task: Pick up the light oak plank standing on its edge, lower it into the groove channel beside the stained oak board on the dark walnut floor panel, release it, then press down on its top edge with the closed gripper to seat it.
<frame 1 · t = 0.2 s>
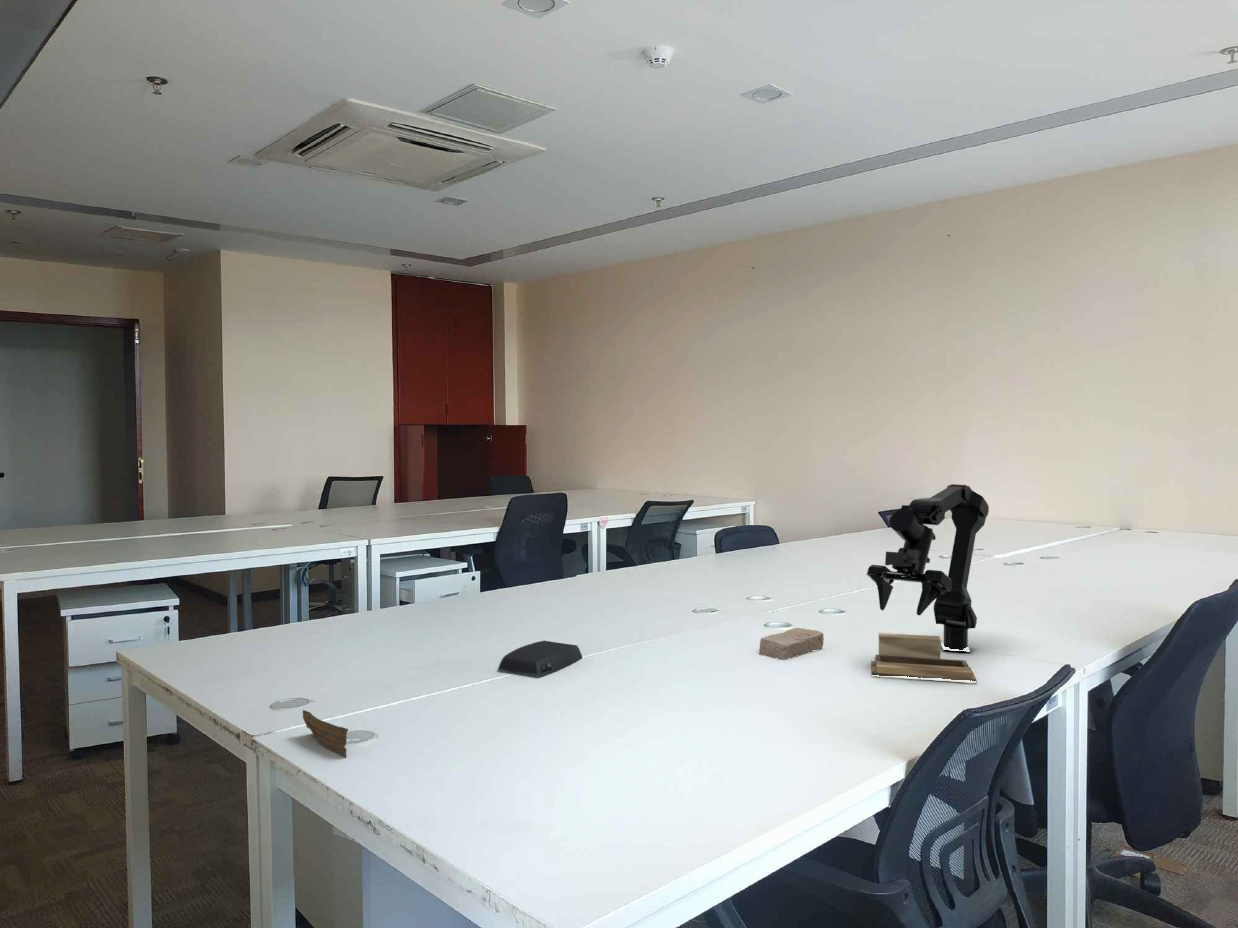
hand: (899, 612, 195), 14 cm above the table, tool tilted 30°, fingers open, 9 cm apart
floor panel: (921, 674, 196), on the table
external hard drive: (541, 667, 205), on the table
oak plank: (908, 660, 208), on the table
brick: (791, 653, 216), on the table
wood plank: (327, 747, 153), on the table
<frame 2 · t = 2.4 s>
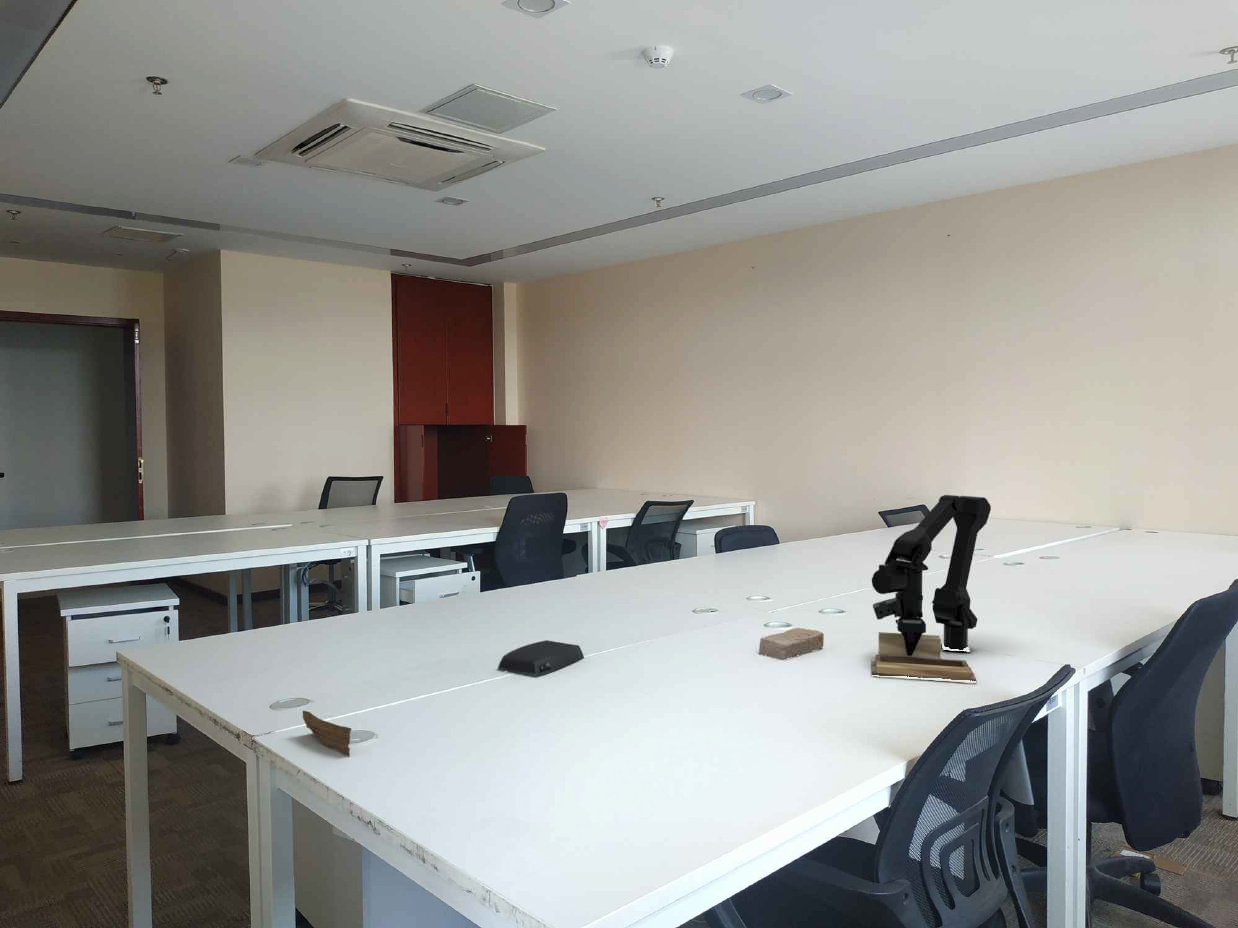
hand: (908, 653, 208), 2 cm above the table, tool pointing down, fingers closed on oak plank, 3 cm apart
oak plank: (908, 659, 208), on the table, touching gripper
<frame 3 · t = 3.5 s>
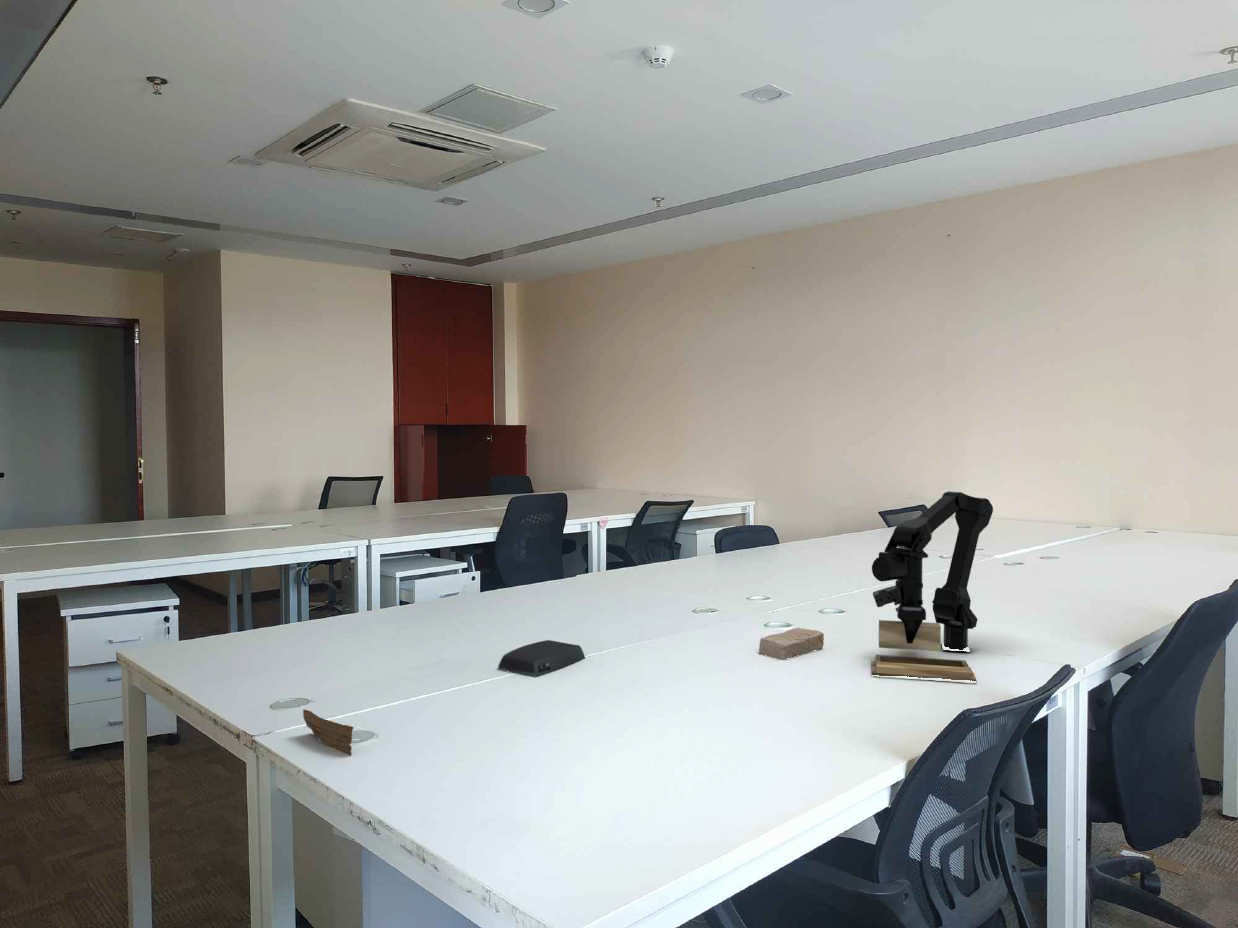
hand: (909, 641, 208), 5 cm above the table, tool pointing down, fingers closed on oak plank, 3 cm apart
oak plank: (908, 647, 208), point 3 cm above the table, touching gripper
everything else where it was.
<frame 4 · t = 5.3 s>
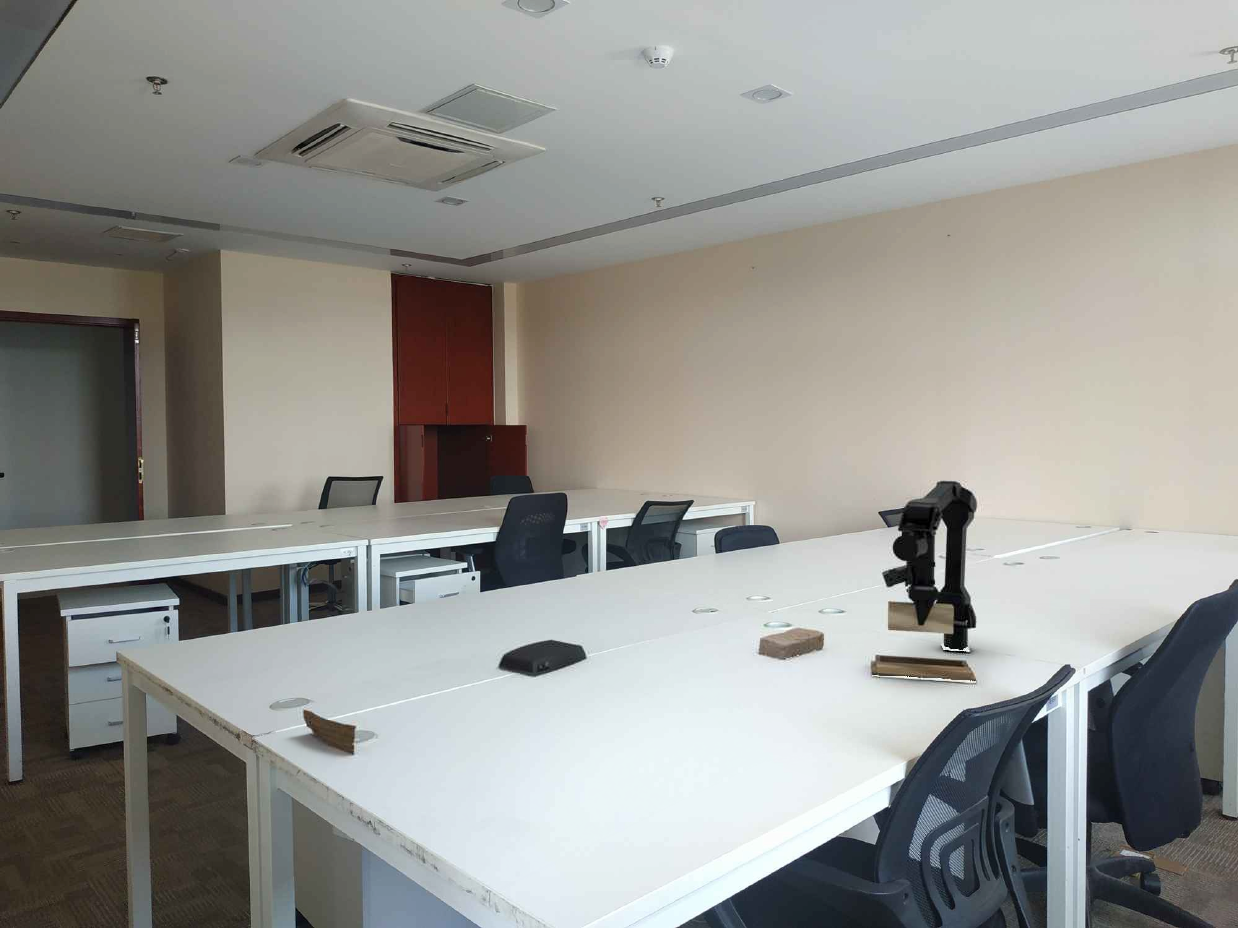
hand: (920, 623, 197), 11 cm above the table, tool pointing down, fingers closed on oak plank, 3 cm apart
oak plank: (920, 630, 197), point 10 cm above the table, touching gripper
when the fingers open (3 cm above the table, at t = 7.4 s): oak plank stays where it is, resting on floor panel.
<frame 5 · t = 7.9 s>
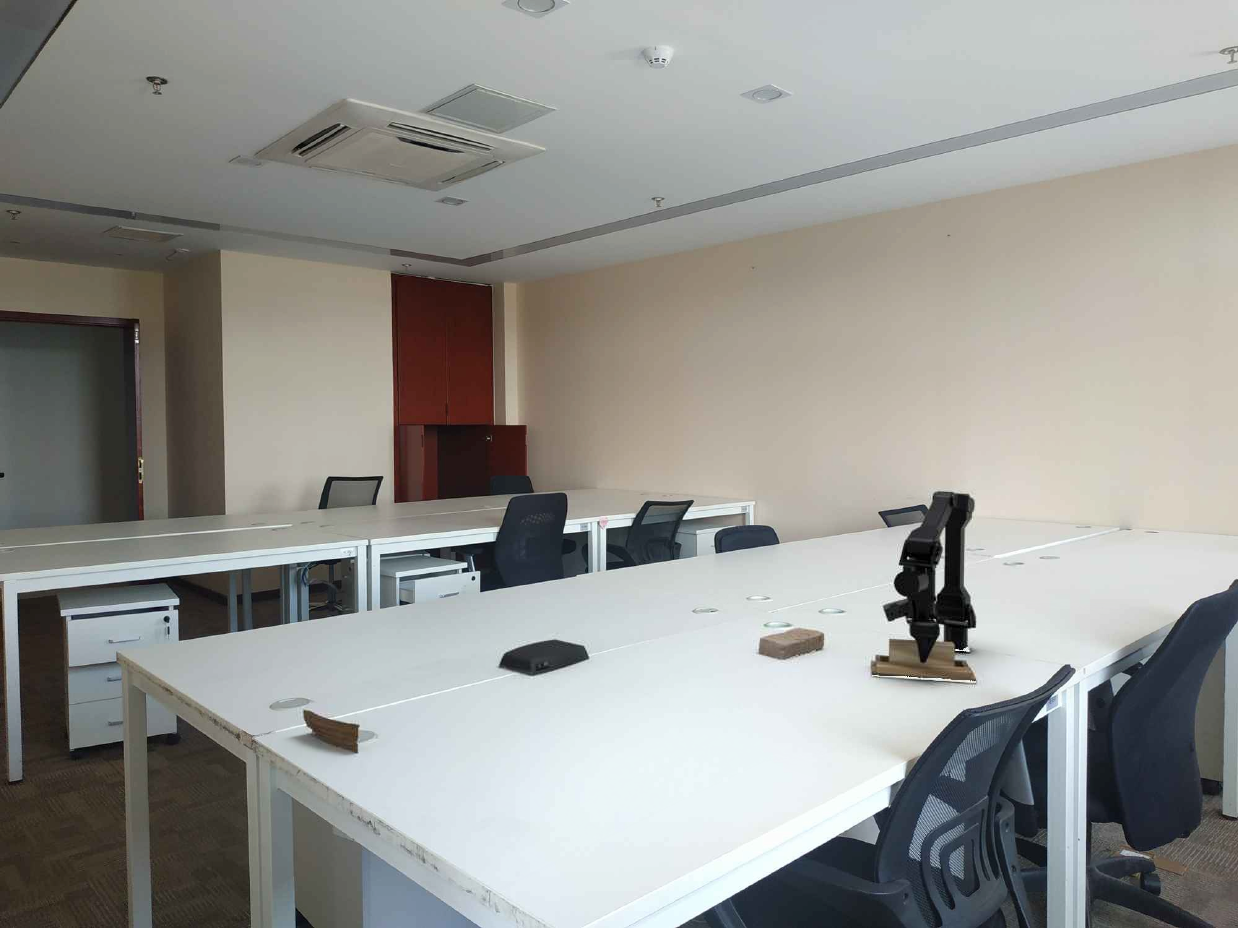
hand: (921, 657, 197), 3 cm above the table, tool pointing down, fingers open, 9 cm apart
oak plank: (920, 667, 197), point 1 cm above the table, touching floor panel
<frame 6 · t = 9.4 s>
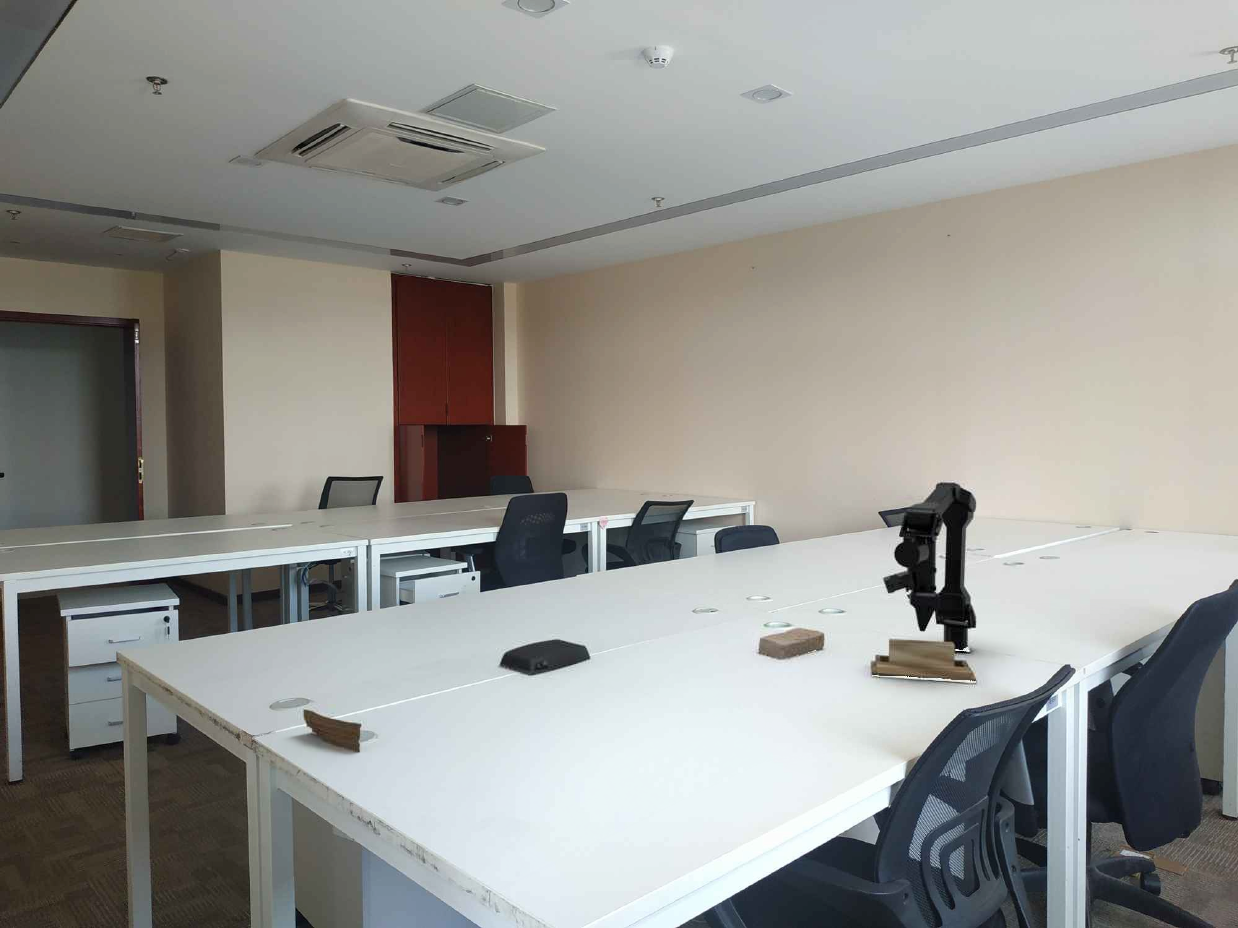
hand: (921, 629, 197), 10 cm above the table, tool pointing down, fingers open, 3 cm apart
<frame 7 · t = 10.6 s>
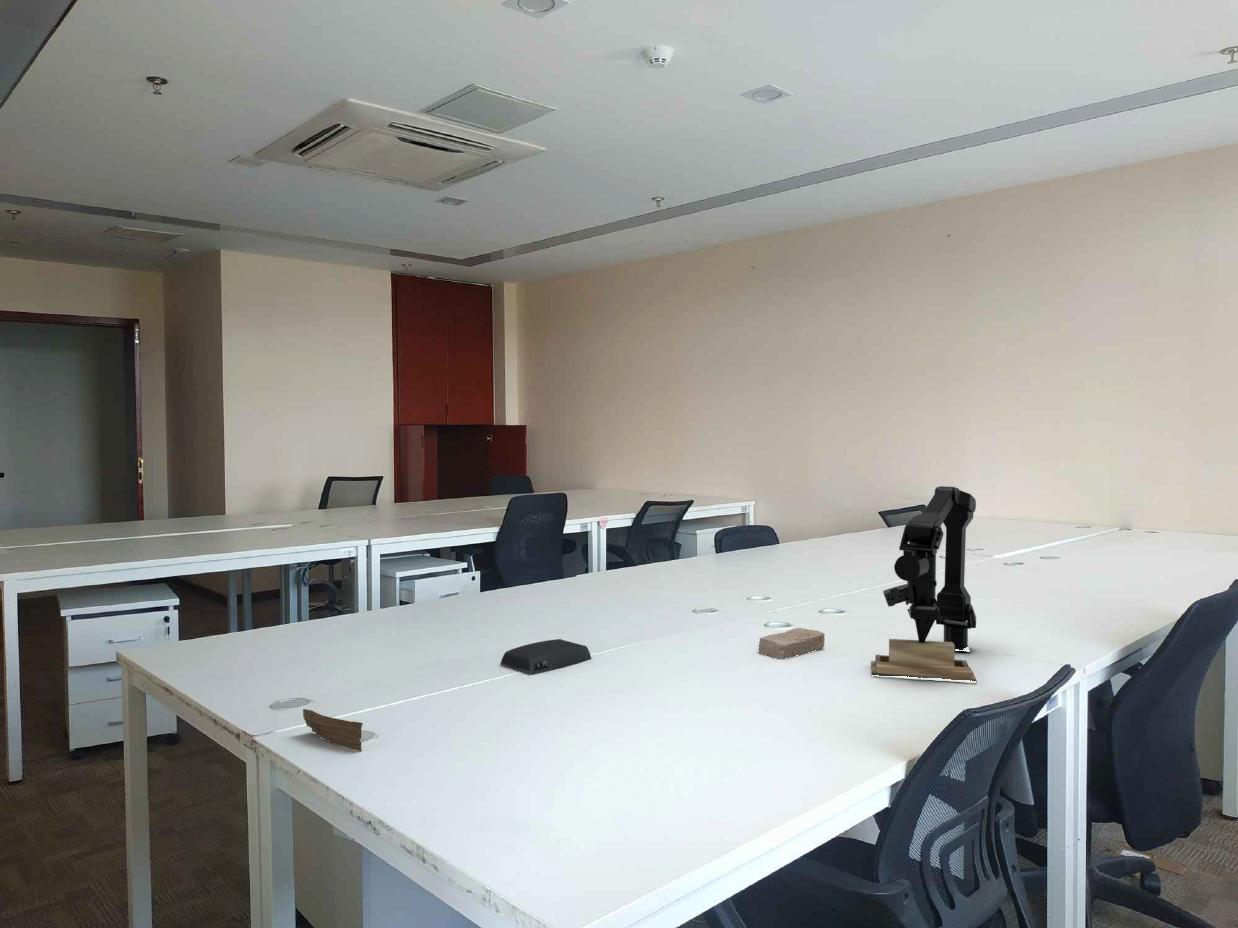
hand: (921, 642, 197), 7 cm above the table, tool pointing down, fingers closed, pressing on oak plank
oak plank: (920, 667, 197), point 1 cm above the table, touching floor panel, gripper
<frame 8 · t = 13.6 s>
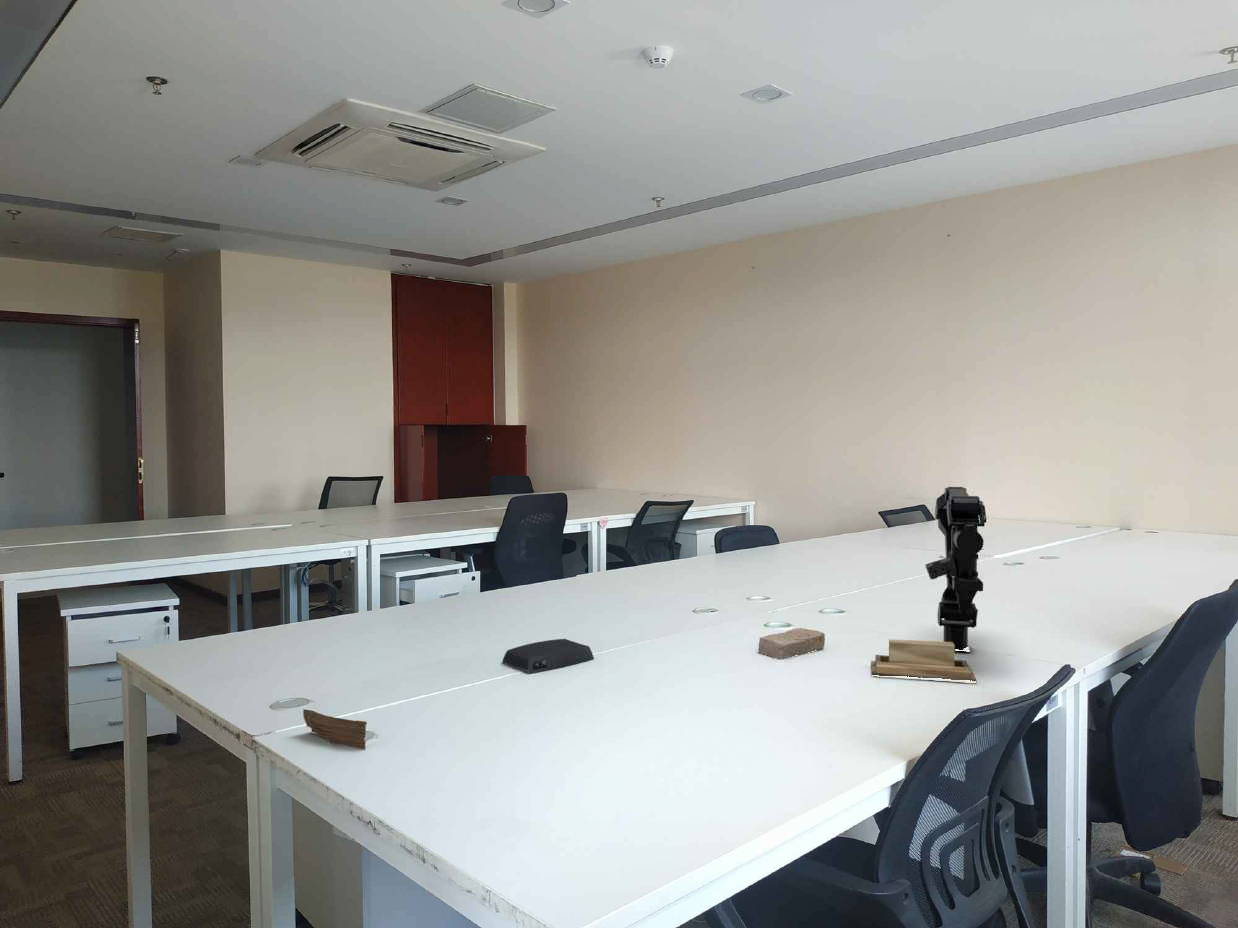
hand: (963, 614, 203), 12 cm above the table, tool pointing down, fingers closed
oak plank: (920, 667, 197), point 1 cm above the table, touching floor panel
at the end: oak plank 0.0 cm from the target spot on the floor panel, point 1.0 cm above the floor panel's base; oak plank tilted 0°; the gripper is holding nothing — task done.
